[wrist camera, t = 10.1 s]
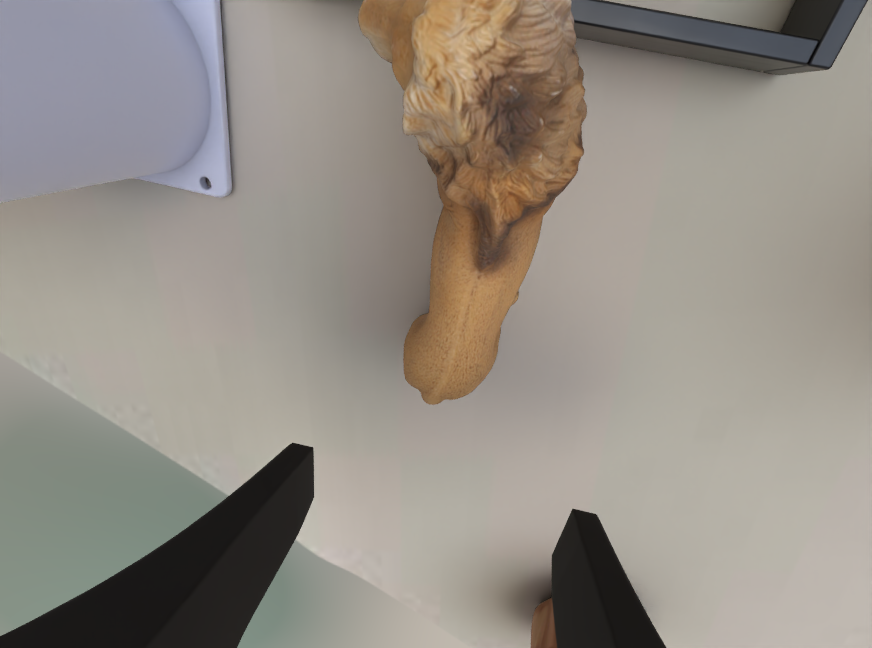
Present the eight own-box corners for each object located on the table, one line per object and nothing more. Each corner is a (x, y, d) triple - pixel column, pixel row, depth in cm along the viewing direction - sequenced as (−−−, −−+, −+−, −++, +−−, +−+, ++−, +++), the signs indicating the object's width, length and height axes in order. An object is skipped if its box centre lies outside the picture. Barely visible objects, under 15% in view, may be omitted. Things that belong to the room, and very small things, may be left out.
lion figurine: (421, 10, 14) (300, -109, 6) (582, 11, 13) (673, -123, 6) (417, 369, 21) (357, 525, 13) (523, 382, 20) (526, 556, 12)
